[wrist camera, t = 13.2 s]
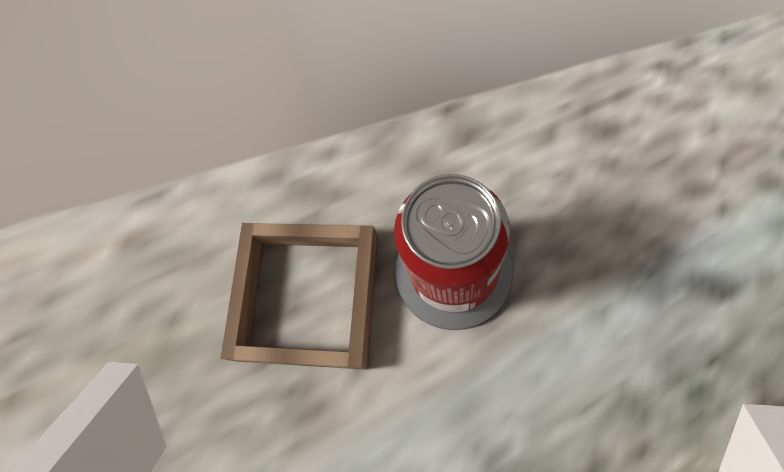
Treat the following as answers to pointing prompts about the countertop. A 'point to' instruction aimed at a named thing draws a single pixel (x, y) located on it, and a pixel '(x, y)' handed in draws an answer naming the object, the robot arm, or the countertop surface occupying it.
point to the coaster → (454, 319)
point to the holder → (247, 285)
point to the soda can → (452, 241)
